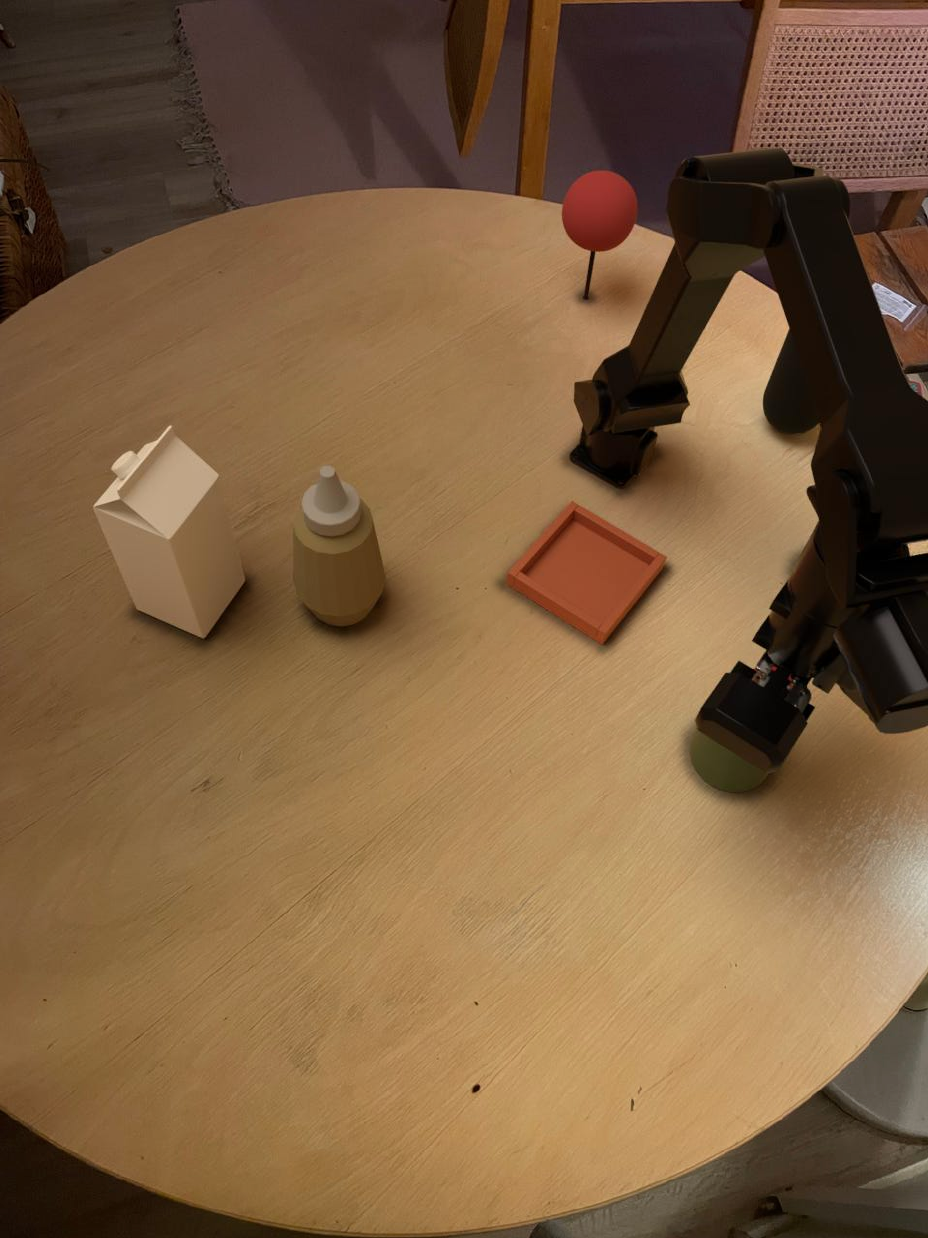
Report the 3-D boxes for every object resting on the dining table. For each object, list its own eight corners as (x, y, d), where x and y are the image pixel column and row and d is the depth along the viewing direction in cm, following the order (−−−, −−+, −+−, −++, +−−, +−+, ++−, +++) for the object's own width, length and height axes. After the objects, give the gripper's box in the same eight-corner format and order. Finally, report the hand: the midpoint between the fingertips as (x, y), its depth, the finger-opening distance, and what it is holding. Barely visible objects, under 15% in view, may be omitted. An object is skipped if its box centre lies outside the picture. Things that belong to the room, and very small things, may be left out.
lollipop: (630, 290, 118) (655, 172, 105) (599, 329, 114) (622, 212, 102) (571, 265, 120) (589, 146, 107) (539, 303, 116) (553, 184, 103)
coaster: (506, 583, 96) (507, 572, 94) (569, 512, 101) (572, 500, 99) (602, 644, 93) (605, 633, 91) (663, 568, 97) (667, 556, 96)
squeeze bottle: (399, 578, 96) (396, 448, 80) (367, 649, 92) (356, 525, 76) (319, 553, 97) (300, 420, 82) (283, 622, 93) (256, 495, 78)
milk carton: (246, 580, 95) (211, 441, 79) (204, 640, 91) (158, 507, 75) (180, 552, 96) (132, 409, 80) (136, 610, 93) (76, 473, 77)
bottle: (674, 761, 87) (706, 698, 77) (714, 704, 90) (750, 636, 80) (745, 808, 85) (788, 749, 75) (784, 748, 88) (829, 684, 78)
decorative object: (817, 453, 106) (872, 341, 93) (753, 443, 106) (799, 331, 94) (817, 406, 109) (869, 293, 97) (754, 397, 110) (799, 282, 97)
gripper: (891, 770, 59) (805, 860, 72) (1010, 559, 67) (913, 675, 81) (720, 665, 62) (668, 770, 76) (854, 476, 71) (786, 601, 84)
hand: (765, 703), depth 79 cm, fingers closed on cap, 4 cm apart
